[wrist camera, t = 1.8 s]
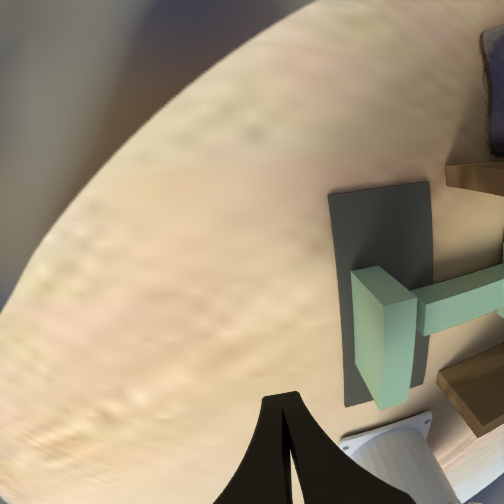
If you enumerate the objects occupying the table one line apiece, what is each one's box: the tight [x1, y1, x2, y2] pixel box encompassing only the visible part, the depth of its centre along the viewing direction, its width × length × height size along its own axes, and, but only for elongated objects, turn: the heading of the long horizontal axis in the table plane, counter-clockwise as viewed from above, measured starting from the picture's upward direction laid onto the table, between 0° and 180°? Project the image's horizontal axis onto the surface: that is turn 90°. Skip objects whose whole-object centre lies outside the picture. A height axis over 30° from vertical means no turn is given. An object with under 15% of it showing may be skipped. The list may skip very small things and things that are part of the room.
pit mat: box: [327, 181, 433, 408], centre depth 17 cm, size 14×6×1 cm, turn 10°
